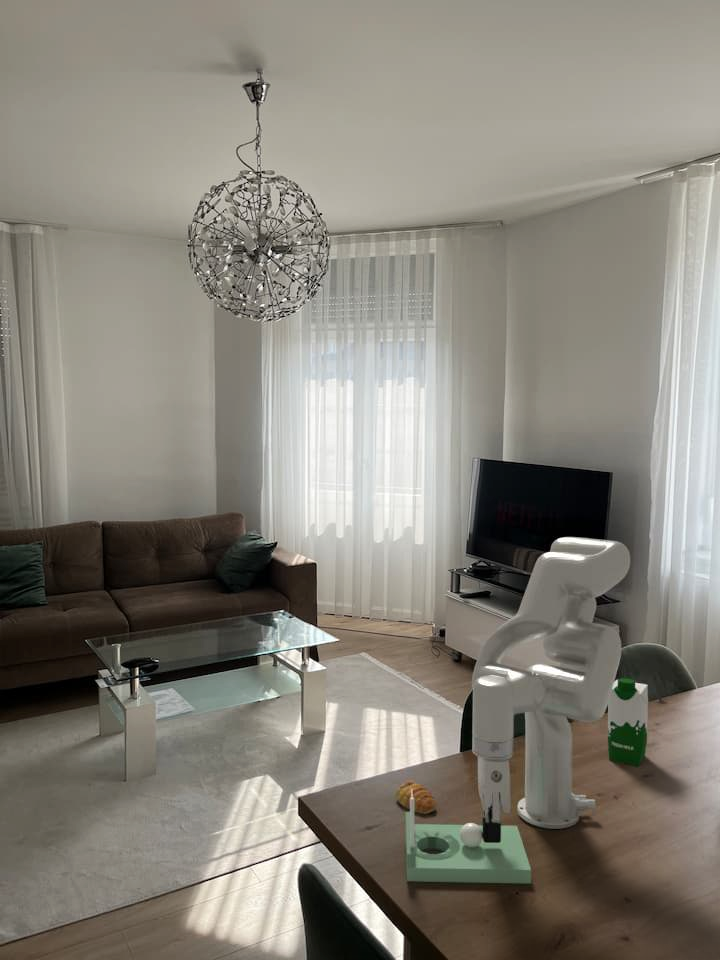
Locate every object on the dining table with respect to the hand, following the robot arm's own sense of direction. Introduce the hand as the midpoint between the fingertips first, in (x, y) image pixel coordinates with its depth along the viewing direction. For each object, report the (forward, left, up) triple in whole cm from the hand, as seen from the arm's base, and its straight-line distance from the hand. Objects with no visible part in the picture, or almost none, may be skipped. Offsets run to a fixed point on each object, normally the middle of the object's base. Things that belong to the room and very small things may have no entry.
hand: (491, 840), depth 141 cm
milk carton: (-39, -45, -4) cm, 60 cm away
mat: (+5, 0, -4) cm, 6 cm away
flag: (+15, +3, -4) cm, 16 cm away
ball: (+4, 0, +1) cm, 4 cm away
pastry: (+13, -21, -4) cm, 25 cm away
